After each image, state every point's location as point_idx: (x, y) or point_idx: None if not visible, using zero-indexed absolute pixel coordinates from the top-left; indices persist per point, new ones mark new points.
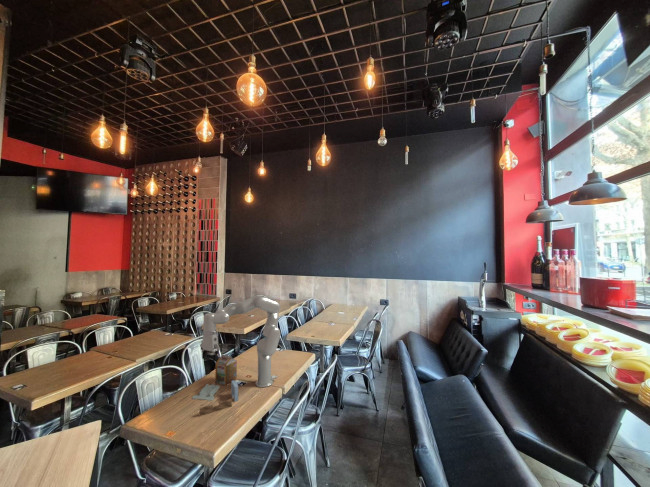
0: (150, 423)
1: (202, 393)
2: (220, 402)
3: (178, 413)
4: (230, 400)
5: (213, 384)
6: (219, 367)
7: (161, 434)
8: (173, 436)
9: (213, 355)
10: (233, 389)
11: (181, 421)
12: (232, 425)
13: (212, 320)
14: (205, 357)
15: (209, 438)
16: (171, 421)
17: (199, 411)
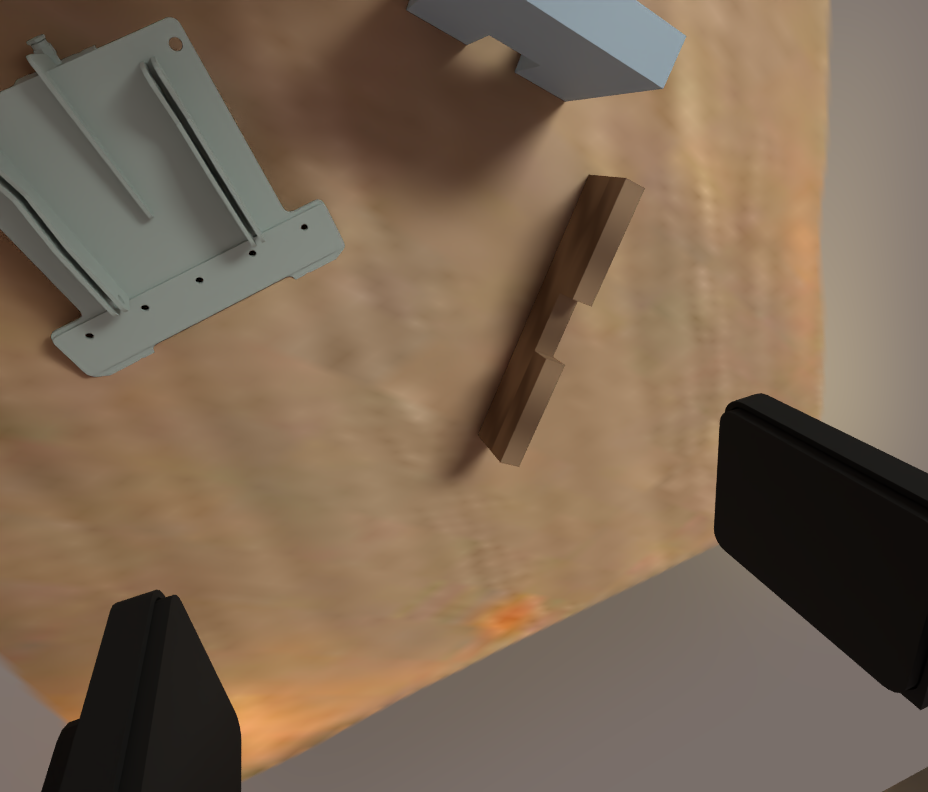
0: (280, 703)
1: (113, 266)
2: (586, 292)
3: (308, 544)
4: (637, 201)
5: (40, 65)
6: None
7: (472, 657)
8: (550, 610)
9: (921, 671)
10: (565, 57)
11: (442, 549)
12: (774, 329)
13: None
14: (198, 650)
15: None
16: (381, 598)
17: (491, 449)
